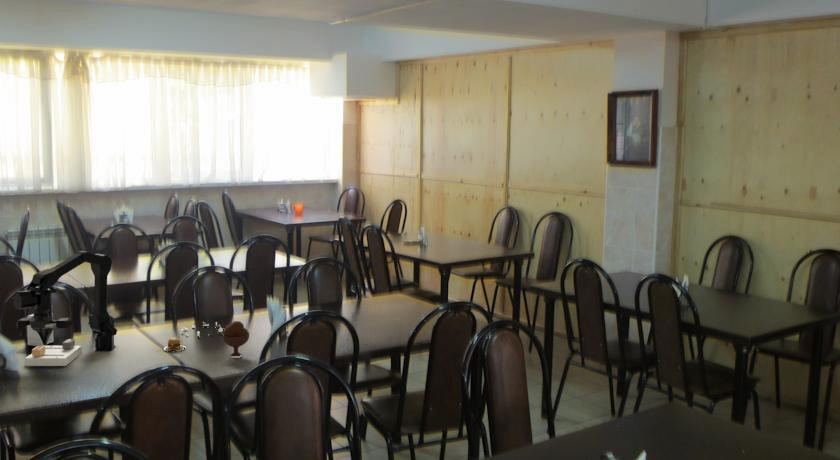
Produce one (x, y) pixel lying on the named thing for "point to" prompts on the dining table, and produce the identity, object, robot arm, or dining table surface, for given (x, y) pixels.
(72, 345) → the block
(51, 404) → the dining table surface
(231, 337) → the ice cream bowl
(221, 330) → the game piece set
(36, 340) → the supplement box
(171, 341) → the cake on plate
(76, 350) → the fader panel
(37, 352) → the fader orange
